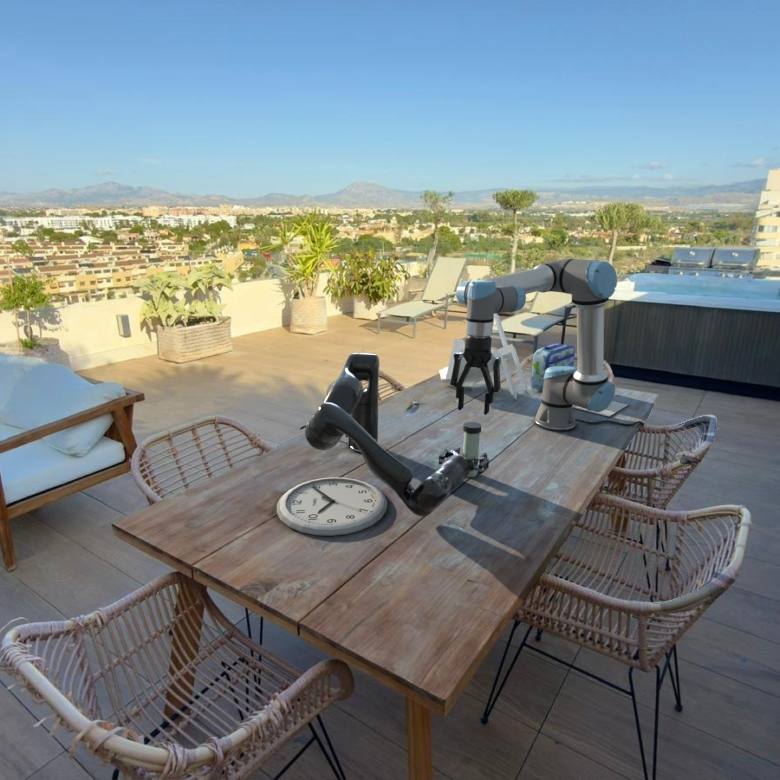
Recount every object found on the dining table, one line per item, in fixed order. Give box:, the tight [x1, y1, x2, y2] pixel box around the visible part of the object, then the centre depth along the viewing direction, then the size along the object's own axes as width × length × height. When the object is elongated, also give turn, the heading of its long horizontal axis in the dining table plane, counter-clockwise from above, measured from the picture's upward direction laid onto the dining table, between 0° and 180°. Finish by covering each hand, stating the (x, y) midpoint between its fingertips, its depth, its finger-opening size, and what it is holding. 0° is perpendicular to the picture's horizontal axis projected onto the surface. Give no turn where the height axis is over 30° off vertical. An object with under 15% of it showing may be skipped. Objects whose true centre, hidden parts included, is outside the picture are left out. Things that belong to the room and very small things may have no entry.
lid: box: [462, 421, 482, 434], centre depth 158 cm, size 5×5×2 cm
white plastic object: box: [438, 313, 531, 400], centre depth 245 cm, size 37×45×31 cm
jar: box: [462, 431, 481, 478], centre depth 160 cm, size 5×5×16 cm
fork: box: [405, 396, 421, 411], centre depth 222 cm, size 3×16×2 cm, turn 160°
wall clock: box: [276, 476, 388, 537], centre depth 142 cm, size 30×2×30 cm
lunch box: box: [530, 343, 576, 391], centre depth 249 cm, size 26×11×21 cm, turn 134°
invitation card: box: [573, 400, 629, 418], centre depth 226 cm, size 21×1×15 cm
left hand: (472, 452), depth 162 cm, fingers open, 8 cm apart
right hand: (473, 410), depth 156 cm, fingers open, 7 cm apart
